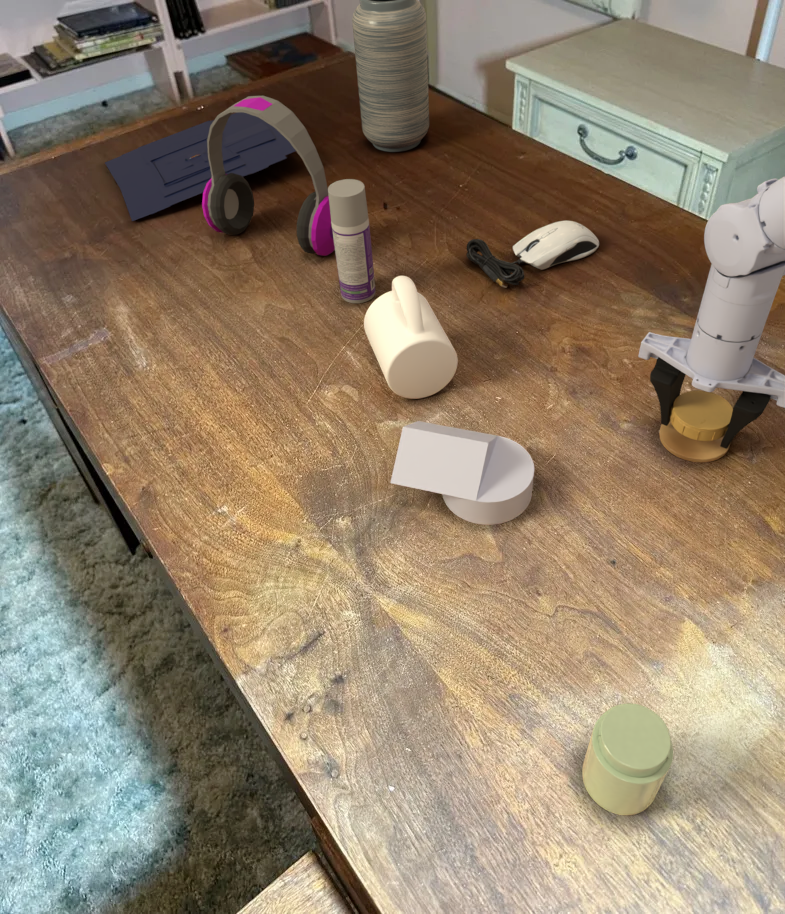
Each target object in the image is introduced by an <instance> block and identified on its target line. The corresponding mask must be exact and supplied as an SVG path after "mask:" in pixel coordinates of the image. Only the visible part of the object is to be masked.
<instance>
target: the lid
mask: <svg viewBox="0 0 785 914" xmlns="http://www.w3.org/2000/svg"><path fill="white" fill-rule="evenodd" d="M732 412H733V406H732V404H731V403H730V402H729V401H728V400H727V399H726V398H724V397H723V396H721V395H719V394H716V393H714V392H706V391H703V390H700V389H697V390H689V391H685V392H683V393H680V395H679V396H678V397H677V398H676V399H675V401H674V403H673V406H672V408H671V414H670V420H671V423H672V425H673V427H674V428H675V429H676V430H677V431H678V432H679V433H681V434H682V435H684V436H686V437H688V438H691V439H694V440H699V441H713V440H717V439H720V438H722V437H723V436H724V435H725V433H726V431H727V429H728V426H729V423H730V420H731V416H732Z"/></svg>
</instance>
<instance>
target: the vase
mask: <svg viewBox="0 0 785 914" xmlns="http://www.w3.org/2000/svg"><path fill="white" fill-rule="evenodd" d="M351 24H352V35H353V43H354V45H353V46H354V55H355V56H354V57H355V66H356V79H357V88H358V98H359V99H358V100H359V109H360V119H361V130H362V133H363V135H364V137H365V138H366V139H367V141H369V142H370V143H371V144H372V146H373V147H374V148H375V149H376V150H378V151H380V152H381V151H382V152H387V153H400V152H401V153H402V152H406V151H409V150H412V149H414V148H416V147H418V146H419V145H420V144H421V142H422V139H423V138H424V137H425V136H426V134H427V133H428V131H429V129H430V101H429V70H428V68H429V65H428V35H427V34H428V33H427V13H426V9H425V8H424V6H423V4H422V3H421V2H420V1H419V0H359V4H358V5H357V7H356V8H355V9H354V12H353V14H352V18H351Z"/></svg>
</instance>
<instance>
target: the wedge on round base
mask: <svg viewBox="0 0 785 914" xmlns="http://www.w3.org/2000/svg"><path fill="white" fill-rule="evenodd" d="M398 442H399V443H398V447H397V451H396V455H395V461H394V464H393V469H392V473H391V478H390V482H389V484H393V485H398V486H402V487H407V488H411V489H417V490H422V491H427V492H431V493H436V494H441V495H442V499H443V501H444V503H445V505H446V507H447V508H448V509H449V511H451V512H452V513H453V514H454V515H455V516H456V517H458V518H460V519H462V520H464V521H466V522H469V523H473V524H475V525H484V526H492V525H493V526H494V525H500V524H504V523H507V522H511V521H513V520H515V519H516V518H518V517H519V516H520V515H521V514H523V513H524V512H525V511H526V509H527V508H528V507H529V505H530V503H531V500H532V498H533V497H532V496H533V486H534V477H535V464H534V460H533V458H532V456H531V454H530V453H529V451H528V450H526V448H525V447H524V446H523V445H521V444H520V443H518V442H517V441H515V440H513V439H511V438H508V437H505V436H501V435H496V434H491V433H486V432H480V431H475V430H470V429H464V428H459V427H454V426H447V425H444V424H443V425H442V424H437V423H432V422H427V421H422V420H417V421H414V422H411V423H408V424H407V425H404V426H402V429H401V434H400V438H399V441H398Z"/></svg>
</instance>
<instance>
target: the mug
mask: <svg viewBox="0 0 785 914" xmlns="http://www.w3.org/2000/svg"><path fill="white" fill-rule="evenodd" d="M363 328H364V332H365V336H366V337H367V340H368V343H369V345H370V347H371V349H372V351H373V354H374V357H375V358H376V360H377V362H378V365H379V367H380V369H381V373H382V374H383V377H384V378H385V381H386V383H387V386H388V388H389V389H390V390H391V391H392V392H393V394H395V395H397V396H399V397H402V398H404V399H411V400H416V399H423V398H428V397H431V396H433V395H435V394H437V393H439V392H440V391H441V390H443V389H444V388H445V387H446V386H448V384H449V383H450V382H451V381H452V379H453V378H454V376H455V374H456V372H457V368H458V363H459V360H458V354H457V351H456V350H455V347H454V346H453V344H452V343H451V340H450V338H449V337H448V335H447V333H446V332H445V330H444V328H443V326H442V324H441V323H440V321H439V319H438V317H437V316H436V314H435V312H434V310H433V308H432V306H431V305H430V303H429V302H428V299H426V297H425V296H424V295H423V294H422V293H420V292H418V289H417V286H416V284H415V282H414V280H413V279H412V278H410V277H409V276H407V275H398V276H395V277H394V278H393V279H392V281H391V290H390V291H387V292H385V293H383V294H381V295H380V296H379V297H377V298H376V299H374V301H373V302H372V303H371V304H370V306H369V307H368V309H367V310H366V313H365V315H364V318H363Z"/></svg>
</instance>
